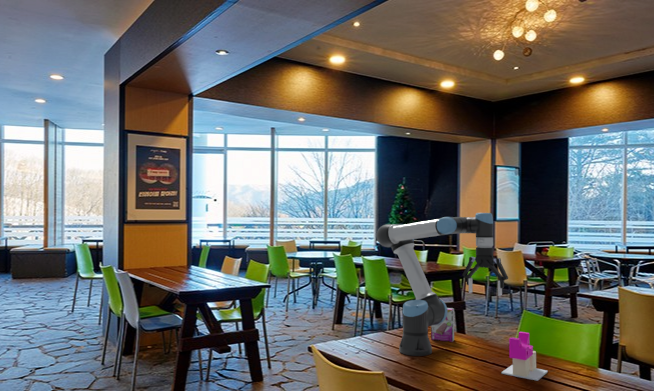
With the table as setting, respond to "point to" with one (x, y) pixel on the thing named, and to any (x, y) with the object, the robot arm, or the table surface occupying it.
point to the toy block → (520, 347)
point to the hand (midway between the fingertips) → (485, 294)
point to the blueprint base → (531, 376)
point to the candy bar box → (444, 328)
